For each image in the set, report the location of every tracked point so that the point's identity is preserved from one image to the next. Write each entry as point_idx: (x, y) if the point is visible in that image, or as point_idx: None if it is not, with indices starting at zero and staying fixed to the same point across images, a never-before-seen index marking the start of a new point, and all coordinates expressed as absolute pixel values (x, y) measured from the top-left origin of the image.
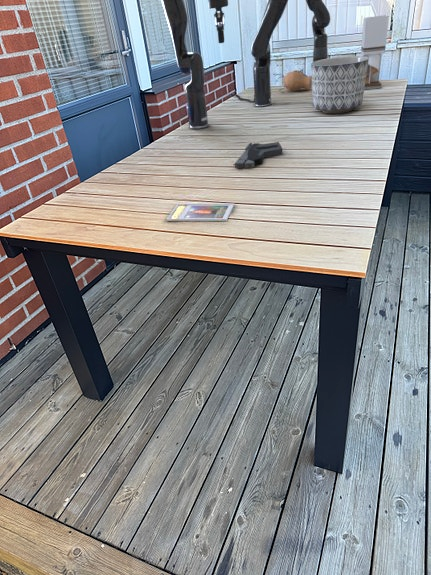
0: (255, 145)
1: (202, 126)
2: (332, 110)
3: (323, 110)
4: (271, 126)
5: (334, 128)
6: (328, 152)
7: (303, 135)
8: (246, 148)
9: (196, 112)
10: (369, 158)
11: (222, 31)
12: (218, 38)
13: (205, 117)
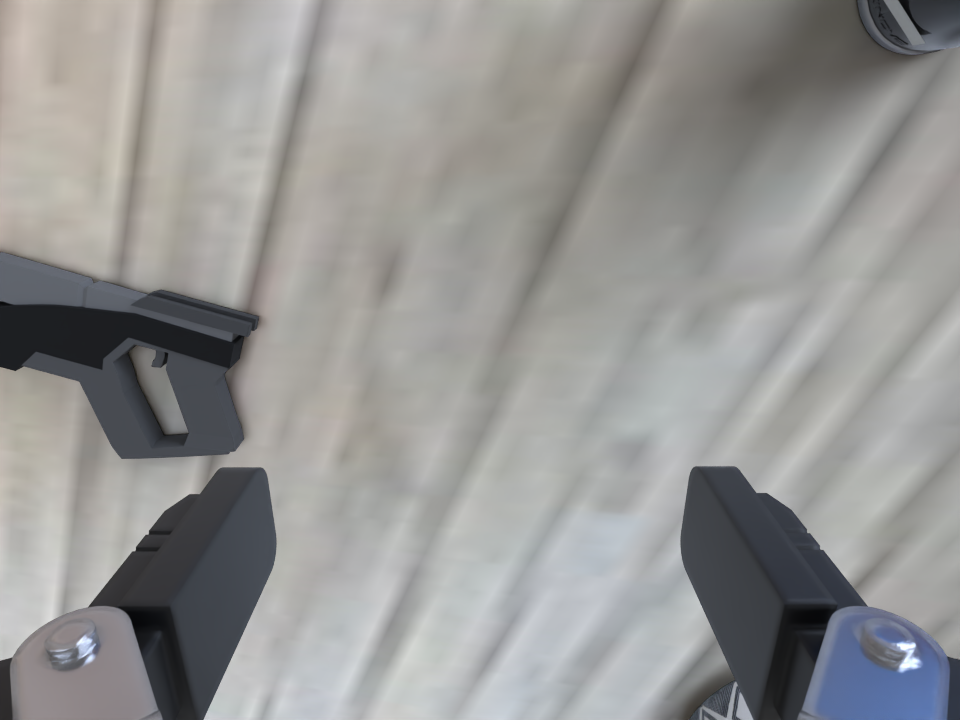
0: (193, 350)
1: (865, 5)
2: (693, 713)
3: (726, 685)
4: (649, 442)
5: (473, 665)
6: None
7: (412, 552)
8: (152, 304)
9: None
10: None
11: (750, 687)
12: (185, 515)
13: (917, 31)
